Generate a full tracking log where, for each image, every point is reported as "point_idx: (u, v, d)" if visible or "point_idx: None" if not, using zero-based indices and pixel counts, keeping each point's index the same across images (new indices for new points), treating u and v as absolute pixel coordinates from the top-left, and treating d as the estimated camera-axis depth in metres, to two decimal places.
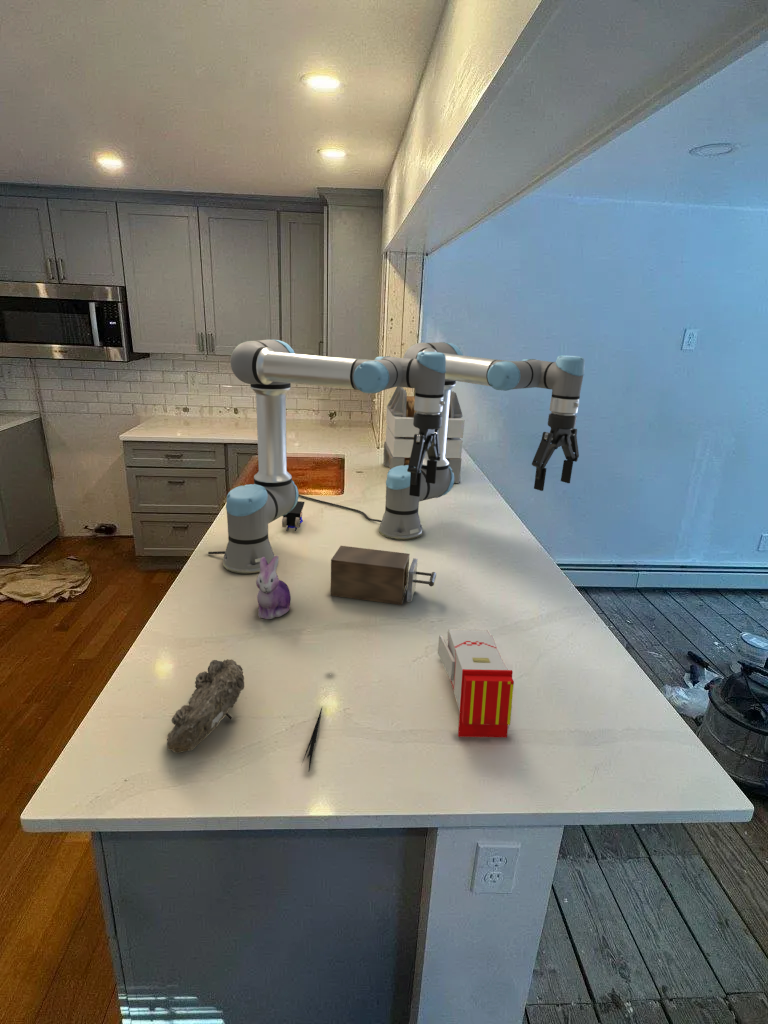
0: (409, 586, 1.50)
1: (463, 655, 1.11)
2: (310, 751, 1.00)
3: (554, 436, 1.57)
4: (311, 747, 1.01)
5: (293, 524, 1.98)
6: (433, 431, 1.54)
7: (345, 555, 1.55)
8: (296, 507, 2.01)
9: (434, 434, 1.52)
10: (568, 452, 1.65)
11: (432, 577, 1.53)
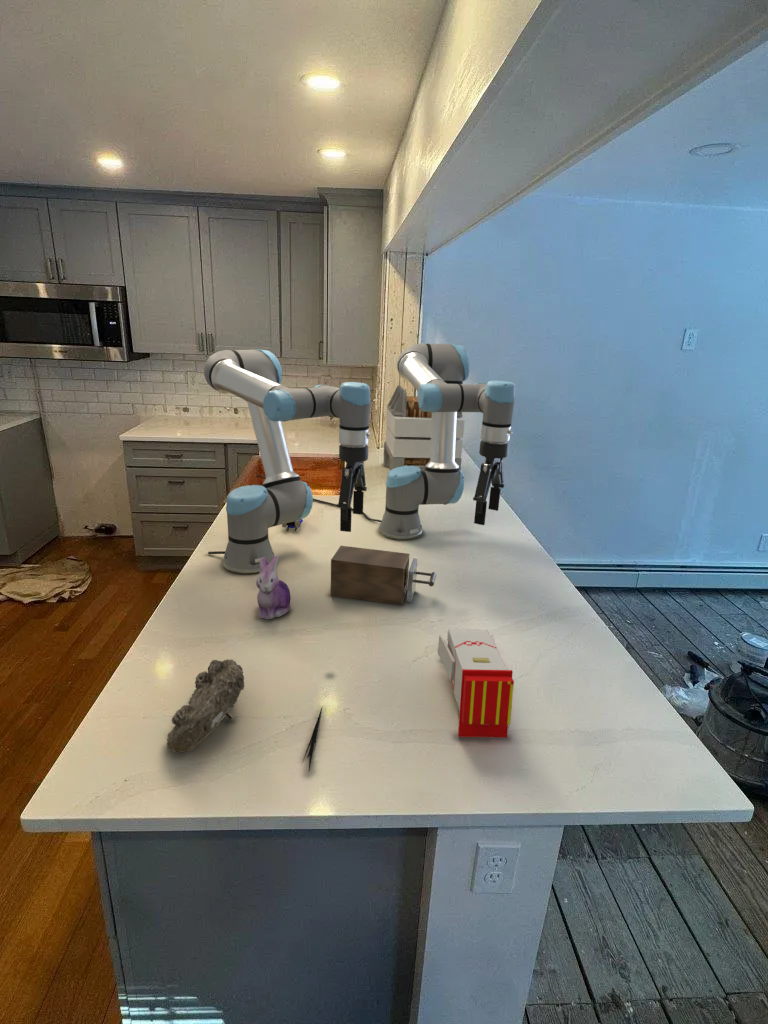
0: (409, 586, 1.50)
1: (463, 655, 1.11)
2: (310, 751, 1.00)
3: (491, 466, 1.48)
4: (311, 747, 1.01)
5: (293, 524, 1.98)
6: (359, 463, 1.49)
7: (345, 555, 1.55)
8: None
9: (361, 466, 1.48)
10: (497, 479, 1.58)
11: (432, 577, 1.53)
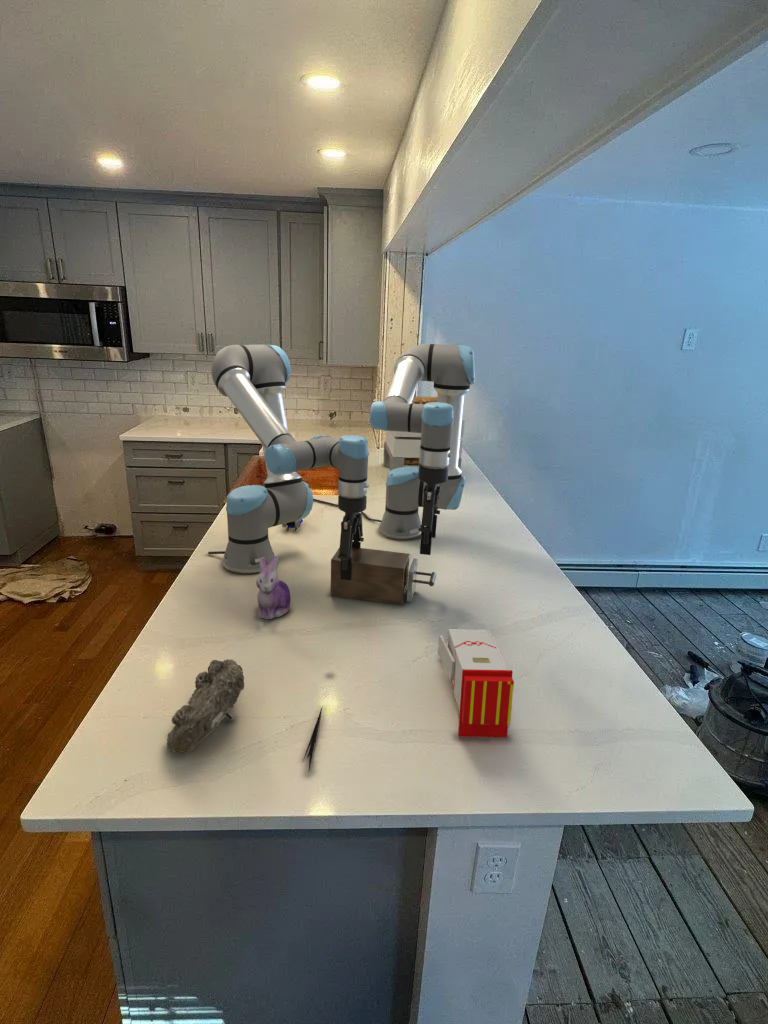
0: (409, 586, 1.50)
1: (463, 655, 1.11)
2: (310, 751, 1.00)
3: (433, 493, 1.41)
4: (311, 747, 1.01)
5: (293, 524, 1.98)
6: None
7: None
8: None
9: (359, 514, 1.52)
10: (434, 505, 1.51)
11: (432, 577, 1.53)
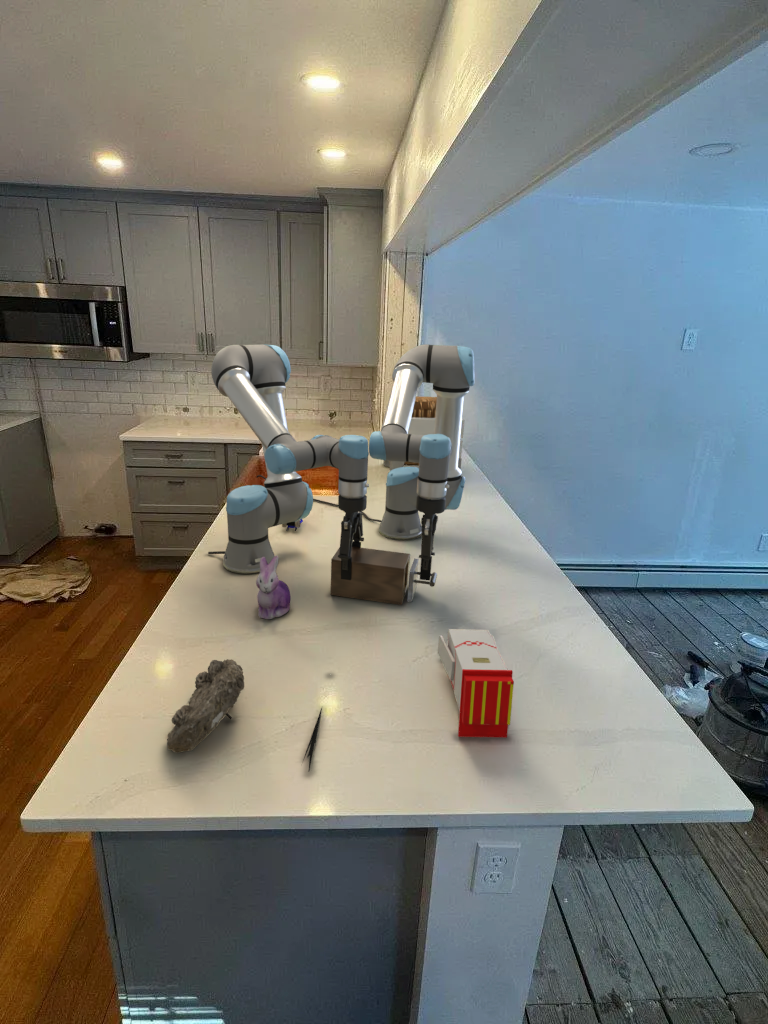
0: (410, 586, 1.50)
1: (463, 655, 1.11)
2: (310, 751, 1.00)
3: (431, 523, 1.44)
4: (311, 747, 1.01)
5: (293, 524, 1.98)
6: None
7: None
8: None
9: (360, 514, 1.52)
10: None
11: (433, 577, 1.53)
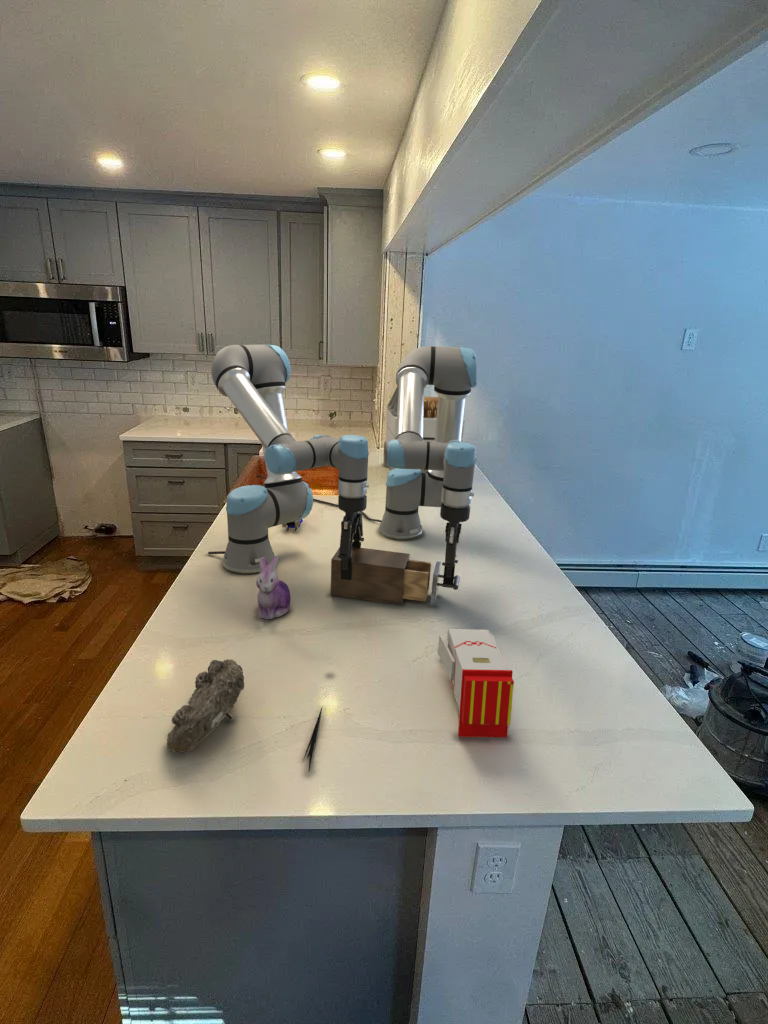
0: (433, 589, 1.49)
1: (463, 655, 1.11)
2: (310, 751, 1.00)
3: (455, 531, 1.43)
4: (311, 747, 1.01)
5: (293, 524, 1.98)
6: None
7: None
8: None
9: (359, 514, 1.52)
10: None
11: (456, 580, 1.52)
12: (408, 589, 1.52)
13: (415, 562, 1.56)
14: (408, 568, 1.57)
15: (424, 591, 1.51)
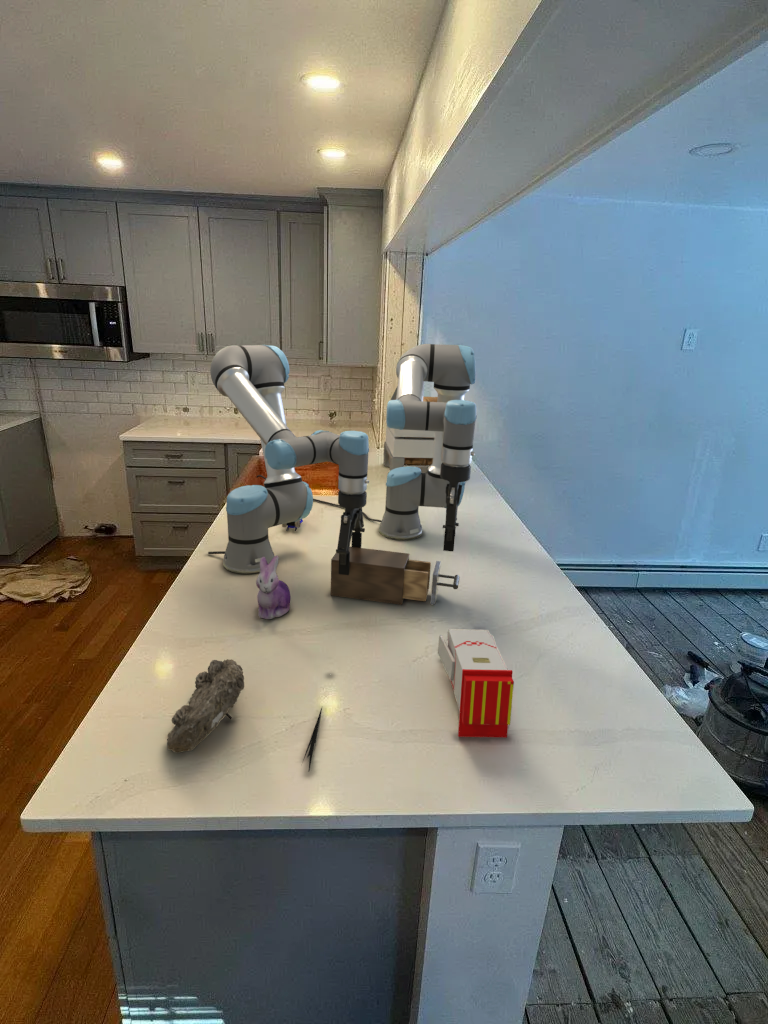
0: (433, 589, 1.49)
1: (463, 655, 1.11)
2: (310, 751, 1.00)
3: (456, 491, 1.40)
4: (311, 747, 1.01)
5: (293, 524, 1.98)
6: None
7: None
8: None
9: (359, 510, 1.52)
10: None
11: (456, 580, 1.52)
12: (408, 589, 1.52)
13: (415, 562, 1.56)
14: (408, 567, 1.57)
15: (424, 591, 1.51)
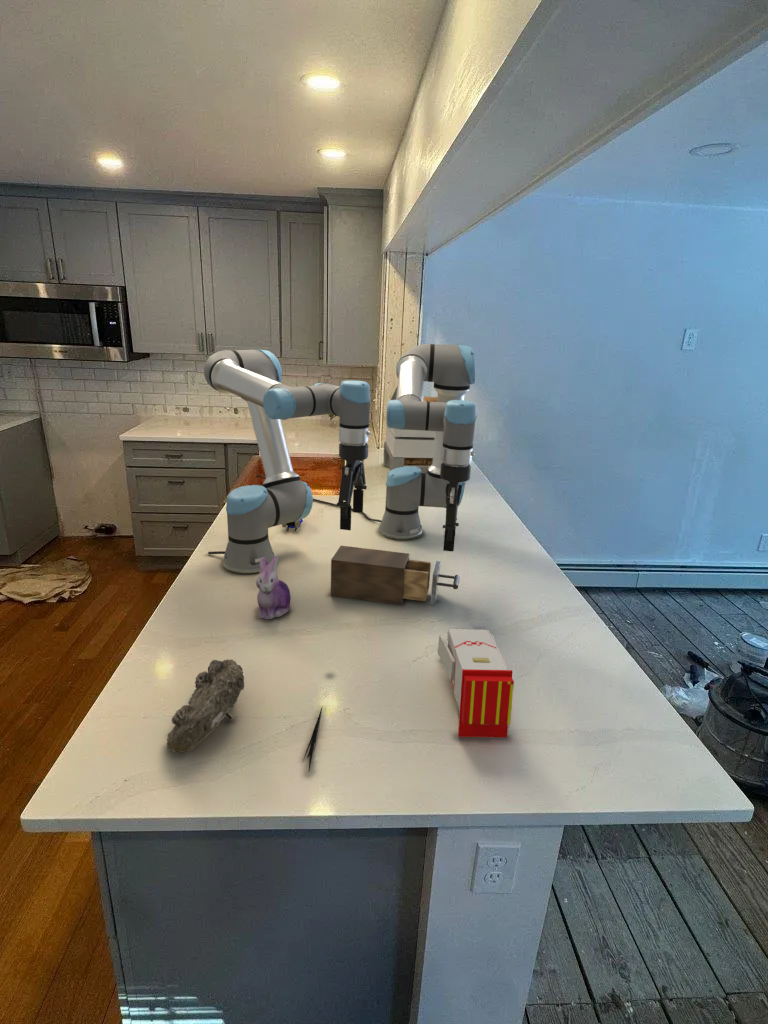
0: (433, 589, 1.49)
1: (463, 655, 1.11)
2: (310, 751, 1.00)
3: (456, 491, 1.40)
4: (311, 747, 1.01)
5: (293, 524, 1.98)
6: (359, 461, 1.49)
7: (345, 555, 1.55)
8: None
9: (361, 464, 1.48)
10: None
11: (456, 580, 1.52)
12: (408, 589, 1.52)
13: (415, 562, 1.56)
14: (408, 567, 1.57)
15: (424, 591, 1.51)
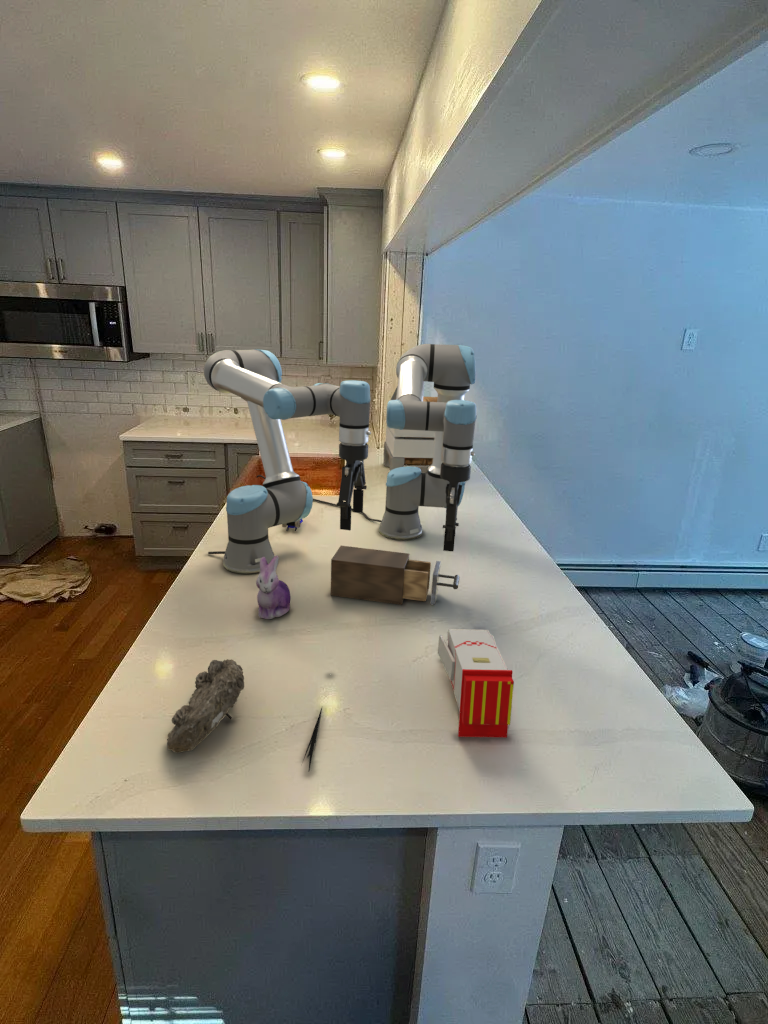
0: (433, 589, 1.49)
1: (463, 655, 1.11)
2: (310, 751, 1.00)
3: (456, 491, 1.40)
4: (311, 747, 1.01)
5: (293, 524, 1.98)
6: (359, 461, 1.49)
7: (345, 555, 1.55)
8: None
9: (361, 464, 1.48)
10: None
11: (456, 580, 1.52)
12: (408, 589, 1.52)
13: (415, 562, 1.56)
14: (408, 567, 1.57)
15: (424, 591, 1.51)
